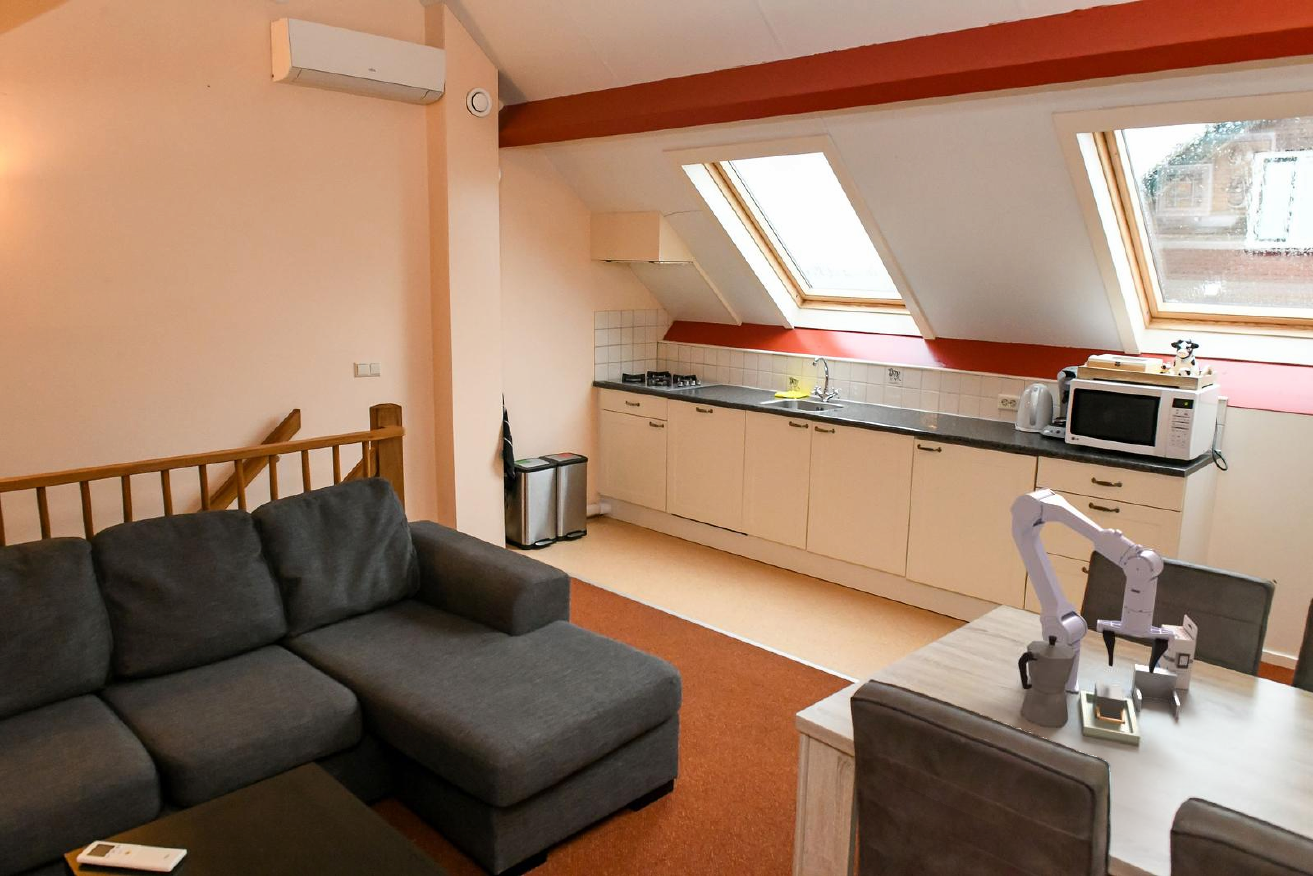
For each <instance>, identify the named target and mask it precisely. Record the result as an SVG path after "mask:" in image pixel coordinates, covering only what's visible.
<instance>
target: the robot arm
mask: <svg viewBox="0 0 1313 876" xmlns="http://www.w3.org/2000/svg"><path fill="white" fill-rule="evenodd" d="M1009 510H1010V513H1011V518H1012V521H1011V536H1012V538H1013V541H1014V543H1015V545H1016V547H1017V550H1018V553H1019V554H1020V557H1021V559H1022V560H1021V561H1022V562H1023V565H1024V567H1025V571H1026V573H1027V575H1028V578H1030V579H1029V580H1030V582H1031V584H1032V587H1033V589H1034V591H1035V594H1036V596H1037V599H1038V601H1039V603H1040V607H1041V610H1040V611H1041V612H1040V616H1039V622H1040V624H1041V637H1042V639H1043V640H1042V641H1049V637H1048V636H1050V635H1053V636H1056V637H1057V640H1056V643H1059V644H1060V643H1062V644H1070V645H1072V646H1073V647H1076V648H1074V649H1073V651H1074V652H1075V653H1076V657H1075V660H1074V663H1073V667H1072V670H1071V674H1070V677H1069V680H1068V682H1067V684H1066V685H1065V691H1066V692H1072V693H1075V694H1076V693H1077V694H1078V693H1080V686H1079V685H1080V684H1079V678H1078V673H1079V666H1080V665H1079V664H1080V657H1081V648H1082V645H1081V640H1082V639H1084V638H1085V636H1086V635H1087V633H1088V624H1087V622H1086V620H1085V619H1084V617H1083V616H1081V614H1080V613H1079V612H1078V610H1077V608H1076V606H1075V605H1074V604H1073V603H1071V601H1068V600H1067V598H1066V595H1065V594H1064V590H1063V589H1062V585H1061V584H1060V582H1059V579H1058V577H1057V574H1056V572H1055V569H1054V568H1053V567H1054V566H1053V565H1052V563H1051V560H1050V557H1049V555H1048V553H1047V550H1046V548H1045V546H1044V543H1043V541H1042V538H1041V536H1040V533H1041V531H1042V529H1043V527H1044V525H1045V523H1047V522H1050V523H1052V522H1055V523H1056V522H1057V523H1058V522H1059V523H1061V524H1063V525H1065V526H1066V527H1068V528H1069V529H1071V530H1073V531H1075V532H1076V533H1078V534H1080V535H1081V536H1083V537H1085V538H1086V539H1088V540H1089V541H1091V542H1092V544H1093V547H1094V550H1095V551H1096V552H1097V553H1099V554H1100V555H1102V556H1104V557H1105V558H1106V559H1108V560H1109V561H1111V562H1113V563H1114V564H1115V565H1117V566H1118V567H1120V568H1121V569H1122V571H1123V573H1124V575H1125V576H1126V581H1125V582H1126V584H1125V588H1124V595H1123V596H1124V597H1123V604H1122V611H1121V612H1122V613H1121V621H1120V620H1104V619H1103V620H1102V619H1097V623H1096V632H1100V633H1101V635H1102V639H1103V643H1104V644H1105V647H1106V651H1107V655H1108V666H1109V667H1113V665H1114V652H1115V646H1116V634H1120V635H1125V636H1131V637H1136V638H1144V639H1151V640H1152V642H1151V643H1152V644H1151V653H1150V658H1149V663H1148V666H1149V673H1153V672H1154V669H1155V667H1156V664H1157V662H1158V661H1159V659H1160V658H1161V656H1162V655H1163V654H1164V652H1165V651H1166V650H1167V649H1168V642H1169V643H1174V641H1175V632H1174V631H1169V630H1164V629H1161V627H1156V626H1153V625H1152V624H1153V618H1154V617H1153V616H1154V611H1155V610H1154V609H1155V603H1156V595H1157V585H1158V584H1157V583H1158V579H1159V578H1158V575H1159V574H1162V571H1163V570H1164V567H1165V566H1164V560H1163V558H1162V557H1161V555H1160V554H1159V553H1158V552H1157V551H1156V550H1155V549H1152V548H1144V546H1143V545H1141V544H1140V543H1139V544H1136V543H1135V542H1133V541H1132V540H1131V539H1129V538H1127V537H1125V536H1124V535H1123V534H1124V532H1123V531H1121V530H1120V529H1116V530H1115V529H1114V528H1105V529H1104V528H1102V527H1101V526H1100V525H1099V524H1096V522H1094V521H1093V520H1092V519H1090V518H1088V517H1087V516H1086V515H1084V514H1083V513H1082V512H1080V511H1079V510H1078V509H1076V508H1075V507H1074V506H1072V505H1071V504H1070V503H1068V502H1067V500H1065V498H1064V497H1063V496H1062V495H1059V494H1056V493H1055V492H1054V491H1052V489H1050V488H1044V487H1043V488H1038V489H1037V490H1035V491H1031V492H1028V493H1025V494H1021V495H1019V496H1017V497H1016V498H1015V500H1014V502H1013V504H1011V507H1010V509H1009Z"/></svg>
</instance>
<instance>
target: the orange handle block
mask: <svg viewBox="0 0 1313 876" xmlns="http://www.w3.org/2000/svg"><path fill="white" fill-rule="evenodd" d="M1123 692H1124V691H1123V687H1122V685H1117V684H1116V685H1115V684H1109V683H1104V682H1098V681H1095V684H1094V692H1093V693H1094V699H1093V708H1094V716H1095V718H1096V719H1098V720H1104V721H1109V722H1115V723H1120V724H1125V718H1124V713H1123V708H1124V698H1125V697H1124V693H1123Z"/></svg>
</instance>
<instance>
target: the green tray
mask: <svg viewBox="0 0 1313 876" xmlns="http://www.w3.org/2000/svg"><path fill="white" fill-rule="evenodd" d="M1093 699H1094V692H1092V691H1086V690H1080V689H1079V700H1078V701H1079V707H1080V716H1081V717H1080V718H1081V725H1082V727H1081V728H1082V734H1083V737H1089V738H1094V739H1099V740H1103V741H1104V740H1105V741H1110V742H1115V743H1119V744H1126V745H1132V746H1137V747H1139V746H1140V742H1141V741H1140V738H1141V736H1140V735H1141V734H1140V730H1139V726H1138V722H1137V718H1136V713H1135V708H1134V703H1133V700H1132V698H1127V697H1124V708H1123V713H1124V718H1125V724H1120V723H1115V722H1109V721H1104V720H1098V719H1096V718H1095V716H1094V708H1093Z"/></svg>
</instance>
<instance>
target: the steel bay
mask: <svg viewBox="0 0 1313 876" xmlns="http://www.w3.org/2000/svg"><path fill="white" fill-rule="evenodd" d="M1176 682H1177V674H1176V671H1174V670H1167V669H1161V668H1155V669H1154V672H1153V673H1149V665H1140V664H1136V663H1135V664H1134V666H1133V673H1132V681H1131V693H1132V696H1133V700H1134V705H1135V709H1136V712H1138V713H1140V712H1141V707H1142V700H1143V699H1142V697H1143V698H1148V699H1153V700H1158V701H1164V700H1165V701H1164V702H1170V705H1171V709H1172V712H1173V715H1174V719H1176V720H1178V719H1179V718H1180V711H1181V704H1180V700H1179V697H1178V695H1177V691H1176V689H1177V688H1176Z"/></svg>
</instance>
